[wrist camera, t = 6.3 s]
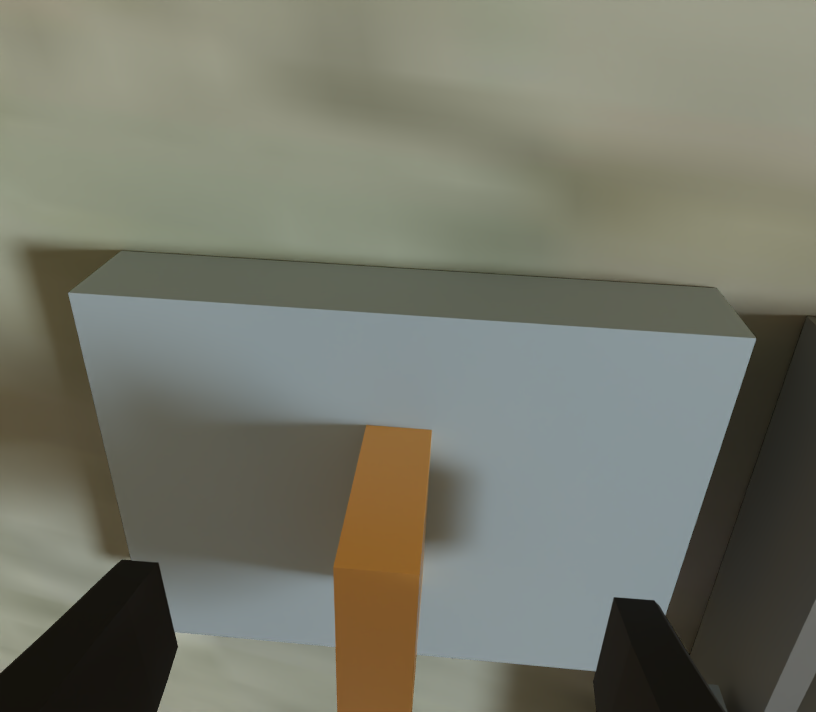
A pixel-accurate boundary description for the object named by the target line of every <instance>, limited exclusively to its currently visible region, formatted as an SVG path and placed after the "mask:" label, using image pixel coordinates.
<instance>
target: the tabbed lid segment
mask: <svg viewBox="0 0 816 712" xmlns="http://www.w3.org/2000/svg"><path fill="white" fill-rule="evenodd" d="M68 295H69V299H70V303H71V307H72V312H73V316H74V320H75V324H76V329H77V333H78V337H79V341H80V346H81V350H82V354H83V358H84V363H85V367H86V371H87V375H88V379H89V384H90V388H91V392H92V396H93V401H94V405H95V409H96V413H97V418H98V422H99V426H100V430H101V435H102V439H103V443H104V447H105V452H106V456H107V460H108V464H109V469H110V473H111V477H112V481H113V486H114V490H115V494H116V498H117V503H118V507H119V511H120V515H121V520H122V524H123V528H124V532H125V537H126V541H127V545H128V549H129V554H130V558H131V560H132V561H146V562H159V567H160V571H161V575H162V580H163V584H164V588H165V593H166V597H167V601H168V606H169V610H170V614H171V619H172V623H173V628H174V632H180V633H191V634H202V635H212V636H223V637H234V638H244V639H255V640H266V641H276V642H287V643H298V644H309V645H319V646H330V647H336V680H337V712H412V706H413V694H414V681H415V669H416V656H417V655H426V656H437V657H448V658H458V659H469V660H480V661H491V662H501V663H512V664H523V665H533V666H544V667H555V668H566V669H576V670H587V671H596V668H597V664H598V660H599V656H600V652H601V648H602V644H603V639H604V635H605V631H606V627H607V623H608V619H609V615H610V611H611V607H612V602H613V598H614V597H619V598H632V599H645V600H654V601H655V602H656V603H657V604H658V605H659V606H660V607H661V609H662V611H663V613H664V614H665V615H666V612H667V609H668V606H669V603H670V600H671V597H672V594H673V591H674V588H675V585H676V582H677V579H678V575H679V572H680V569H681V566H682V563H683V560H684V557H685V554H686V551H687V548H688V545H689V542H690V539H691V536H692V533H693V530H694V527H695V524H696V521H697V518H698V515H699V512H700V509H701V506H702V502H703V499H704V496H705V493H706V490H707V487H708V484H709V481H710V478H711V475H712V472H713V469H714V466H715V463H716V460H717V457H718V454H719V451H720V448H721V445H722V442H723V439H724V436H725V433H726V429H727V426H728V423H729V420H730V417H731V414H732V411H733V408H734V405H735V402H736V399H737V396H738V393H739V390H740V387H741V384H742V381H743V378H744V375H745V372H746V369H747V366H748V363H749V360H750V356H751V353H752V350H753V347H754V344H755V341H756V337H755V336H754V335H753V333H752V332H751V331H750V330H749V328H748V327H747V326H746V324H745V323H744V322H743V321H742V319H741V318H740V317H739V316H738V314H737V313H736V312H735V310H734V309H733V308H732V307H731V305H730V304H729V303H728V302H727V300H726V299H725V298H724V296H723V295H722V294H721V293H720V291H719V290H718V289H717V288H707V287H691V286H675V285H659V284H643V283H627V282H611V281H595V280H579V279H563V278H547V277H532V276H516V275H500V274H484V273H468V272H452V271H436V270H420V269H404V268H388V267H372V266H356V265H340V264H324V263H308V262H292V261H276V260H261V259H245V258H229V257H213V256H197V255H181V254H165V253H149V252H133V251H120V252H119V253H118V254H116V255H115V256H114V257H113V258H111V259H110V260H109V261H108V262H106V263H105V264H104V265H102V266H101V267H100V268H99V269H97V270H96V271H95V272H94V273H92V274H91V275H90V276H89V277H87V278H86V279H85V280H83V281H82V282H81V283H80V284H78V285H77V286H76V287H75V288H73V289H72V290H71V291H70V292H68Z"/></svg>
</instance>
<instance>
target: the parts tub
mask: <svg viewBox="0 0 816 712" xmlns="http://www.w3.org/2000/svg"><path fill="white" fill-rule="evenodd" d="M690 657H691V659H692V661H693V662H694V664H695V665H696V667H697V668H698V670H699V672H700V673H701V675H702V676H703V678H704V679H705V681H706V683H707V684H714V685H718V686H719V689H720V691H721V694H722V697H723V700H724V703H725V706H726V709H727V712H816V317H812V316H807V317H806V320H805V323H804V326H803V329H802V332H801V335H800V338H799V340H798V343H797V346H796V349H795V352H794V355H793V358H792V361H791V364H790V367H789V369H788V372H787V375H786V378H785V381H784V384H783V387H782V390H781V393H780V396H779V398H778V401H777V404H776V407H775V410H774V413H773V416H772V419H771V422H770V425H769V427H768V430H767V433H766V436H765V439H764V442H763V445H762V448H761V451H760V454H759V456H758V459H757V462H756V465H755V468H754V471H753V474H752V477H751V480H750V483H749V485H748V488H747V491H746V494H745V497H744V500H743V503H742V506H741V509H740V512H739V514H738V517H737V520H736V523H735V526H734V529H733V532H732V535H731V538H730V541H729V544H728V546H727V549H726V552H725V555H724V558H723V561H722V564H721V567H720V570H719V573H718V575H717V578H716V581H715V584H714V587H713V590H712V593H711V596H710V599H709V602H708V604H707V607H706V610H705V613H704V616H703V619H702V622H701V625H700V628H699V631H698V633H697V636H696V639H695V642H694V645H693V648H692V651H691V654H690Z"/></svg>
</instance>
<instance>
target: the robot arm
mask: <svg viewBox="0 0 816 712" xmlns="http://www.w3.org/2000/svg"><path fill="white" fill-rule="evenodd" d="M177 648H178V645H177V641H176V636H175V632H174V628H173V623H172V619H171V614H170V610H169V606H168V601H167V597H166V593H165V588H164V584H163V580H162V575H161V571H160V567H159V562H146V561H132V560H121V561H120V562H119V563H117V564H116V565H115V566H114V567H113V568H112V569H111V570H110V571H109V572H108V573H107V574H106V575H105V576H104V577H102V578H101V579H100V580H99V581H98V582H97V583H96V584H95V585H94V586H93V587H92V588H91V589H90V590H89V591H88V592H87V593H86V594H85V595H84V596H83V597H82V598H81V599H79V600H78V601H77V602H76V603H75V604H74V605H73V606H72V607H71V608H70V609H69V610H68V611H67V612H66V613H65V614H64V615H63V616H62V617H61V618H60V619H59V620H57V621H56V622H55V623H54V624H53V625H52V626H51V627H50V628H49V629H48V630H47V631H46V632H45V633H44V634H43V635H42V636H41V637H39V638H38V639H37V640H36V641H35V642H34V643H33V644H32V645H31V646H30V647H29V648H27V649H26V650H25V651H24V652H23V653H22V654H21V655H20V656H19V657H18V658H17V659H15V660H14V661H13V662H12V663H11V664H10V665H9V666H8V667H7V668H6V669H5V670H3V671H2V672H1V673H0V712H157V710H158V707H159V704H160V701H161V698H162V695H163V692H164V689H165V686H166V683H167V680H168V677H169V674H170V670H171V667H172V664H173V661H174V658H175V654H176V651H177ZM593 683H594V693H595V703H596V712H726V711H725V710H724V709H723V707H722V705H721V704H720V702H719V701H718V699H717V698H716V696H715V695H714V693H713V692H712V690H711V689H710V687H709V686H708V684H707V683H706V681H705V679H704V678H703V676H702V675H701V673H700V672H699V670H698V668H697V667H696V665H695V664H694V662H693V661H692V659H691V657H690V656H689V654H688V652H687V651H686V649H685V648H684V646H683V644H682V643H681V641H680V639H679V638H678V636H677V634H676V633H675V631H674V629H673V628H672V626H671V624H670V623H669V621H668V619H667V618H666V616H665V614H664V613H663V611H662V609H661V607H660V606H659V605H658V604H657V603H656V602H655V601H654V600H645V599H632V598H619V597H614V598H613V602H612V607H611V611H610V615H609V619H608V623H607V627H606V631H605V635H604V639H603V644H602V648H601V652H600V656H599V660H598V664H597V668H596V672H595V677H594V681H593Z"/></svg>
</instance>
